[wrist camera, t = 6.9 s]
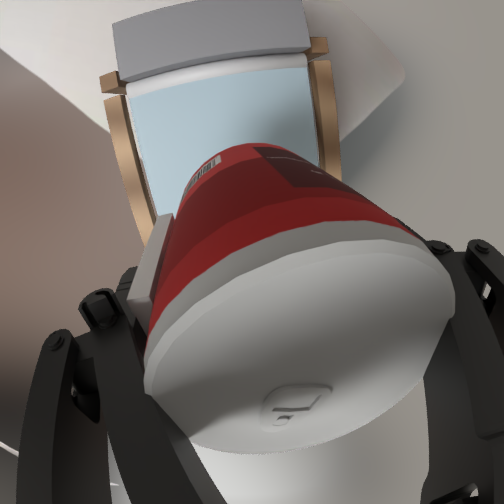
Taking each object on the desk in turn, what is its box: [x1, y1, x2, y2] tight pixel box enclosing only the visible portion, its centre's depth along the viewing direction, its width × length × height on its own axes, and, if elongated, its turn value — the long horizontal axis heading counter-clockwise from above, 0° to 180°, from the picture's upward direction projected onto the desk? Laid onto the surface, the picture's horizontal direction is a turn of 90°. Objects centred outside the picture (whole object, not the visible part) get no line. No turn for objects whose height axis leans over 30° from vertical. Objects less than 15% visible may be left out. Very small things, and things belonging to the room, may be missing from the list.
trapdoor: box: [112, 0, 318, 219], centre depth 21 cm, size 19×15×6 cm
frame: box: [99, 37, 342, 247], centre depth 28 cm, size 18×19×14 cm
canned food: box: [144, 143, 455, 454], centre depth 10 cm, size 8×8×11 cm
